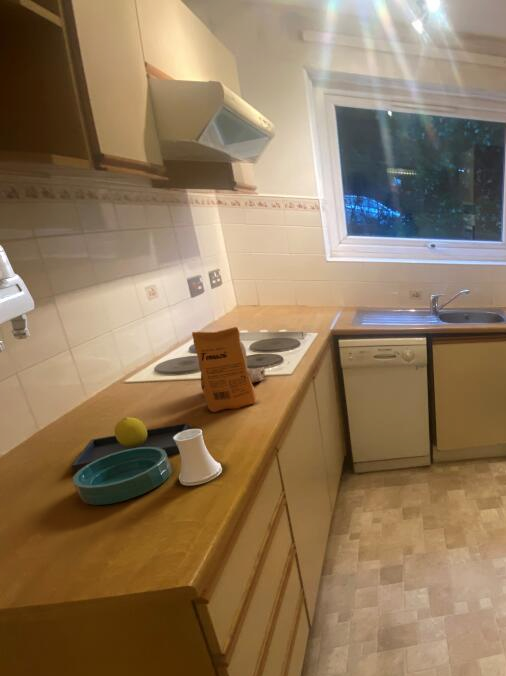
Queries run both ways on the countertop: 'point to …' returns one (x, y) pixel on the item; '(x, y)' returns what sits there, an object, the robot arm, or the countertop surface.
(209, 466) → the vase
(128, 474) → the bowl
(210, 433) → the countertop surface
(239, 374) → the coffee package
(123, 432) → the lemon
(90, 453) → the tray
